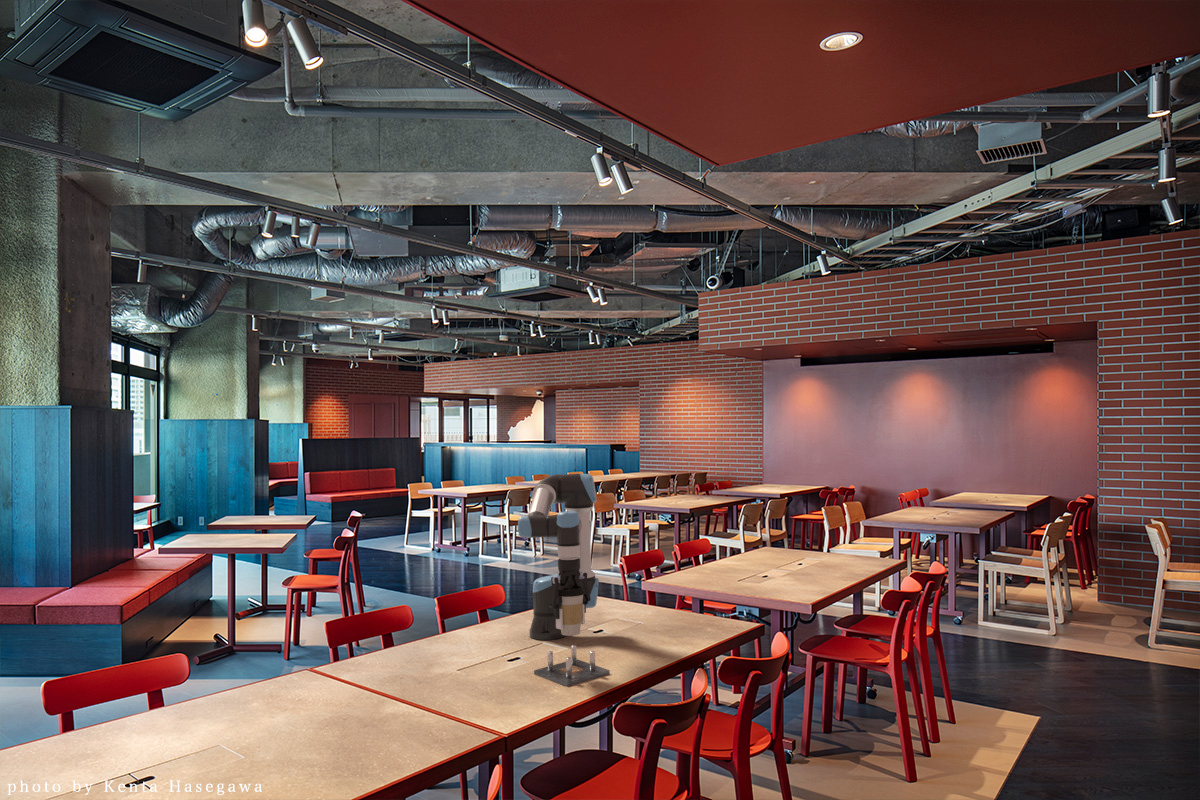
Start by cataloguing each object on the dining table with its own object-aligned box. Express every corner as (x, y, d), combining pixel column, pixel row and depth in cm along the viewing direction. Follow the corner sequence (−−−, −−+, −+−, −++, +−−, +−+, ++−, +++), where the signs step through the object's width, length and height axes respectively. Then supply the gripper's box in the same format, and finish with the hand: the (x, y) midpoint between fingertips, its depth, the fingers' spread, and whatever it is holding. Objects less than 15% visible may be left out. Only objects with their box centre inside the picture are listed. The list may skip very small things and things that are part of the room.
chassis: (576, 662, 255) (575, 641, 256) (609, 673, 241) (609, 651, 242) (534, 673, 244) (533, 652, 244) (566, 686, 230) (566, 663, 230)
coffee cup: (587, 629, 248) (585, 585, 249) (583, 637, 238) (582, 590, 239) (558, 629, 249) (557, 585, 250) (553, 637, 239) (552, 590, 240)
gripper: (586, 553, 255) (588, 618, 253) (536, 560, 241) (537, 629, 239) (600, 555, 249) (602, 622, 248) (549, 563, 235) (551, 634, 234)
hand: (570, 626), depth 243 cm, fingers closed on coffee cup, 9 cm apart
